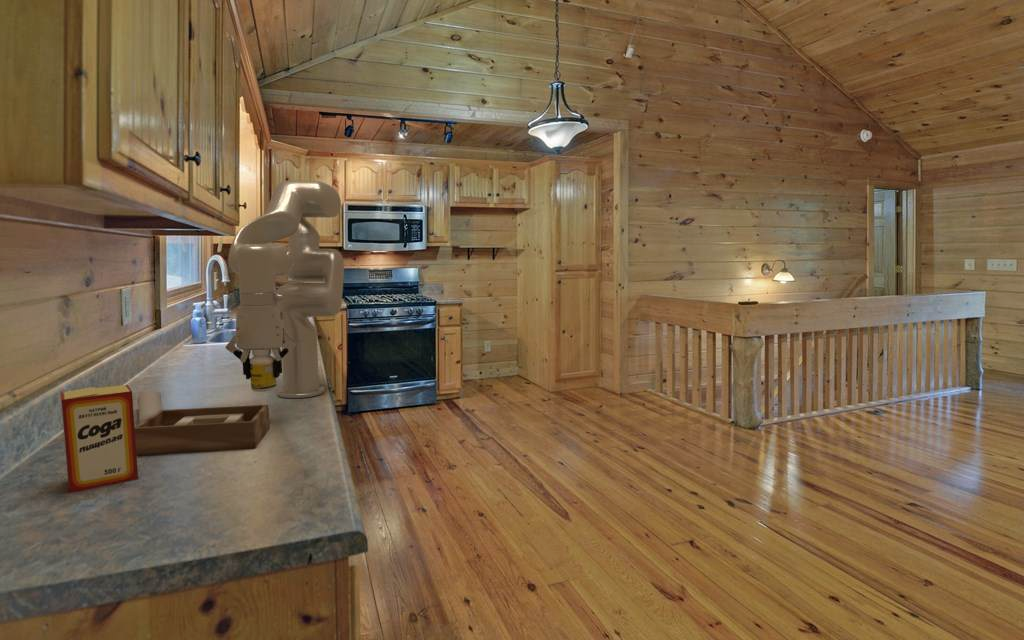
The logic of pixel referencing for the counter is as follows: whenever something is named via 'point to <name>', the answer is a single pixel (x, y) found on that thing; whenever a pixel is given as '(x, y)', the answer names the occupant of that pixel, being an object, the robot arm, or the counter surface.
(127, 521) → the counter surface
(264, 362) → the supplement bottle
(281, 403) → the counter surface
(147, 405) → the tube
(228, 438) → the crate
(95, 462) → the baking soda box
